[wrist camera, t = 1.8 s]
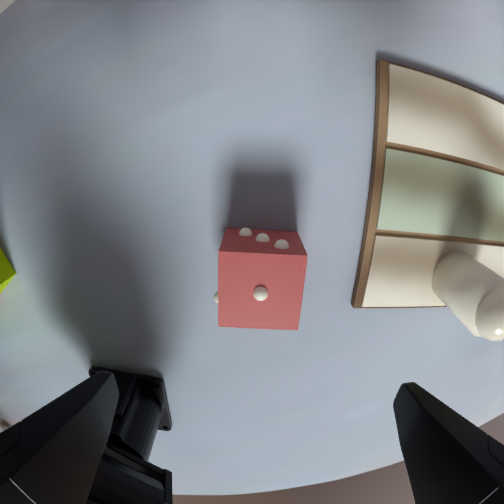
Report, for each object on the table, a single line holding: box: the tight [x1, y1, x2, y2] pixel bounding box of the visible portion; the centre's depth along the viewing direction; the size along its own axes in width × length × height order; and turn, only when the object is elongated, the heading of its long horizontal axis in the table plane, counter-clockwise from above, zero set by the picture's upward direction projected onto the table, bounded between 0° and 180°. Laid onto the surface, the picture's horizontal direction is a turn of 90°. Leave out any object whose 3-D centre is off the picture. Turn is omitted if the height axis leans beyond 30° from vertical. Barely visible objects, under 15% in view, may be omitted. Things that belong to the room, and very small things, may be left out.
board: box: [351, 60, 504, 308], centre depth 16 cm, size 15×14×1 cm
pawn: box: [432, 250, 504, 341], centre depth 14 cm, size 4×4×7 cm
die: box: [214, 228, 307, 330], centre depth 16 cm, size 4×4×4 cm
